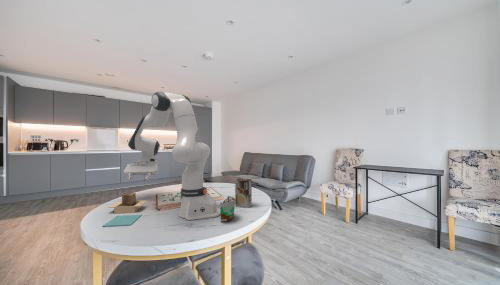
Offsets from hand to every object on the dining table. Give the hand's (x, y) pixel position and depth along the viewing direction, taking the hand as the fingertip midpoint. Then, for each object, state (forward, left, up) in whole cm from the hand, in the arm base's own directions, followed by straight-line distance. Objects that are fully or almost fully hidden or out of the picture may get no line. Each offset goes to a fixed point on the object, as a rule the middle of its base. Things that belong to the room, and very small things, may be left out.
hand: (138, 179), depth 120 cm
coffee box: (-66, +11, -15) cm, 69 cm away
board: (-5, +27, -15) cm, 32 cm away
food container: (-57, +31, -15) cm, 67 cm away
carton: (0, +11, -15) cm, 19 cm away
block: (0, +11, -15) cm, 19 cm away
